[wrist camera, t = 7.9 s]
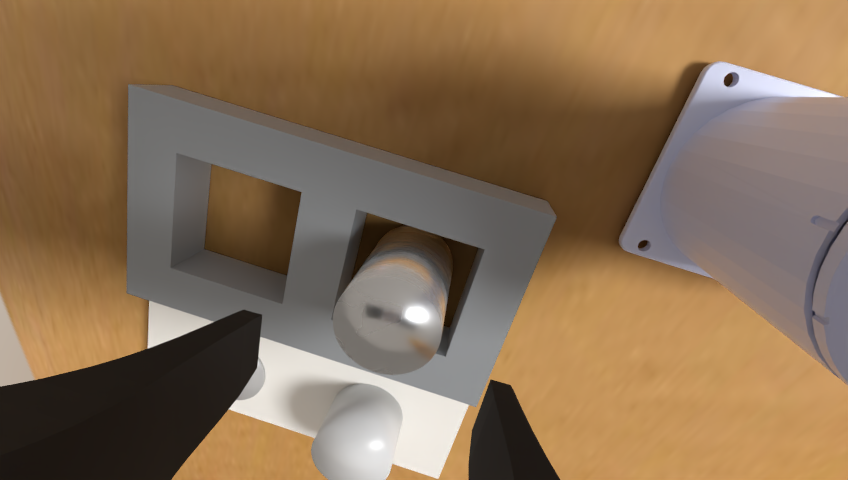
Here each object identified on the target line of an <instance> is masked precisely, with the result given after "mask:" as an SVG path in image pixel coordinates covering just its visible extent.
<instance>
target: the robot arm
mask: <svg viewBox="0 0 848 480" xmlns="http://www.w3.org/2000/svg"><path fill="white" fill-rule="evenodd" d="M729 73H730V74H732V76H733V81H732V83H731V84H730V85H729V86H725V85H724V82H723V81H724V77H725V76H726V75H727V74H729ZM643 240H647V241H648V242H647V245H646V246H645V247H643V248H638V244H639V243H640V242H641V241H643ZM619 245H620V246H621V247H622V248H623V249H624V250H625V251H627V252H629V253H632V254H636V255H639V256H642V257H645V258H649V259H652V260H655V261H658V262H661V263H665V264H668V265H671V266H674V267H678V268H681V269H684V270H687V271H690V272H694V273H697V274H700V275H703V276H706V277H710V278H713V279H715V280H717V281H718V282H719V283H720V284H722V285H723V286H724V287H725V288H727V289H728V290H729V291H730V292H732V293H733V294H734V295H735V296H737V297H738V298H739V299H740V300H742V301H743V302H744V303H745V304H747V305H748V306H749V307H750V308H752V309H753V310H754V311H755V312H757V313H758V314H759V315H760V316H762V317H763V318H764V319H765V320H767V321H768V322H769V323H770V324H772V325H773V326H774V327H775V328H777V329H778V330H779V331H780V332H782V333H783V334H784V335H785V336H787V337H788V338H789V339H790V340H792V341H793V342H794V343H795V344H797V345H798V346H799V347H800V348H802V349H803V350H804V351H805V352H807V353H808V354H809V355H810V356H812V357H813V358H814V359H815V360H817V361H818V362H819V363H821V364H822V365H823V366H824V367H826V368H827V369H828V370H829V371H831V372H832V373H833V374H834V375H836V376H837V377H838V378H840V379H841V380H842V381H843V382H844V383H845V384H847V385H848V97H842V96H839V95H835V94H832V93H828V92H825V91H822V90H818V89H815V88H811V87H808V86H805V85H801V84H798V83H794V82H791V81H788V80H784V79H781V78H777V77H774V76H771V75H767V74H764V73H761V72H757V71H754V70H750V69H747V68H744V67H740V66H737V65H733V64H730V63H727V62H714V63H711V64H708V65H707V66H706V67H704V69H703V70H702V71H701V73H700V75H699V77H698V79H697V81H696V83H695V85H694V87H693V89H692V91H691V93H690V95H689V97H688V99H687V101H686V103H685V105H684V107H683V109H682V111H681V113H680V115H679V117H678V119H677V121H676V123H675V125H674V128H673V130H672V132H671V134H670V136H669V138H668V140H667V142H666V144H665V146H664V148H663V150H662V152H661V154H660V156H659V158H658V160H657V162H656V164H655V166H654V168H653V170H652V172H651V174H650V176H649V178H648V180H647V182H646V184H645V186H644V188H643V190H642V192H641V194H640V196H639V198H638V200H637V202H636V204H635V206H634V208H633V210H632V212H631V214H630V216H629V218H628V221H627V223H626V225H625V227H624V229H623V231H622V233H621V235H620V237H619ZM261 324H262V314H258V313H255V312H251V311H247V310H241V311H238V312H236V313H233V314H231V315H229V316H226V317H224V318H222V319H219V320H217V321H215V322H213V323H210V324H208V325H206V326H203V327H201V328H199V329H196V330H194V331H191V332H189V333H187V334H184V335H182V336H180V337H177V338H174V339H172V340H169V341H167V342H164V343H161V344H159V345H156V346H153V347H151V348H148V349H145V350H143V351H140V352H137V353H134V354H131V355H128V356H125V357H122V358H119V359H116V360H112V361H109V362H105V363H102V364H99V365H95V366H92V367H88V368H84V369H80V370H76V371H72V372H68V373H63V374H59V375H55V376H51V377H47V378H43V379H38V380H33V381H28V382H23V383H18V384H13V385H7V386H2V387H0V480H171V479H172V478H173V476H174V475H175V474H176V472H177V471H178V470H179V469H180V467H181V466H182V465H183V463H184V462H185V461H186V460H187V458H188V457H189V456H190V455H191V454H192V452H193V451H194V450H195V449H196V448H197V446H198V445H199V444H200V443H201V442H202V440H203V439H204V438H205V437H206V436H207V434H208V433H209V432H210V431H211V430H212V428H213V427H214V426H215V425H216V424H217V423H218V421H219V420H220V419H221V418H222V417H223V415H224V414H225V413H226V412H227V410H228V409H229V408H230V407H231V406H232V404H233V403H234V402H235V401H236V399H237V398H238V397H239V396H240V394H241V393H242V391H243V389H244V388H245V386H246V385H247V383H248V382H249V380H250V379H251V377H252V375H253V374H254V372H255V371H256V369H257V365H258V355H259V344H260V334H261ZM469 480H560V479H559V477H558V475H557V474H556V472H555V470H554V469H553V467H552V465H551V464H550V462H549V460H548V458H547V457H546V455H545V453H544V451H543V449H542V448H541V446H540V444H539V442H538V440H537V438H536V436H535V434H534V432H533V430H532V428H531V426H530V424H529V422H528V420H527V418H526V416H525V414H524V412H523V410H522V408H521V406H520V404H519V401H518V399H517V397H516V395H515V393H514V391H513V389H512V387H511V385H508V384H504V383H501V382H497V381H494V380H490V383H489V386H488V388H487V391H486V394H485V397H484V399H483V402H482V405H481V408H480V410H479V413H478V416H477V419H476V421H475V424H474V427H473V430H472V437H471V446H470V456H469Z"/></svg>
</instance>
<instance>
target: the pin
mask: <svg viewBox="0 0 848 480" xmlns="http://www.w3.org/2000/svg"><path fill="white" fill-rule="evenodd" d="M452 271H453V259H452V255H451V252H450V249H449V247H448V246H447V244H446V243H445V241H444V240H443V239H442V238H441V237H440V236H439V235H437V234H433V233H430V232H427V231H424V230H421V229H418V228H414V227H411V226H408V225H407V226H401V227H397V228H395V229H393V230H391V231H389V232H388V233H386V234H385V235H384V236H383V237H382V238H381V240H380V241H379V242H378V244H377V245H376V247H375V248H374V249H373V251H372V252H371V254H370V255H369V257H368V258H367V259H366V261H365V262H364V264H363V265H362V267H361V268H360V269H359V271H358V272H357V274H356V275H355V277H354V278H353V279H352V281H351V282H350V284H349V285H348V287H347V288H346V290H345V291H344V292H343V294H342V295H341V297H340V298H339V300H338V302H337V303H336V306H335V309H334V312H333V330H334V334H335V337H336V339H337V341H338V343H339V345H340V347H341V348H342V349H343V351H344V352H345V353H346V354H347V355H348V357H350V358H351V359H352V360H353V361H354V362H356V363H357V364H359V365H360V366H362V367H364V368H366V369H368V370H370V371H373V372H376V373H380V374H387V375H400V374H406V373H410V372H413V371H415V370H418V369H419V368H421V367H423V366H424V365H425V364H427V363H428V362H429V361H430V360H431V359H432V358H433V356H434V355H435V353H436V352H437V350H438V348H439V345H440V342H441V336H442V330H443V324H444V318H445V312H446V306H447V301H448V295H449V289H450V283H451V277H452Z"/></svg>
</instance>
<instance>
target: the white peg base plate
mask: <svg viewBox="0 0 848 480" xmlns="http://www.w3.org/2000/svg"><path fill="white" fill-rule="evenodd" d="M210 323H213V321H210V320H207V319H204V318H201V317H198V316H195V315H192V314H189V313H186V312H183V311H180V310H177V309H174V308H170V307H167V306H164V305H161V304H158V303H155V302H152V301H149V324H148V348H151V347H153V346H156V345H159V344H161V343H164V342H167V341H169V340H172V339H174V338H177V337H180V336H182V335H184V334H187V333H189V332H191V331H194V330H196V329H199V328H201V327H203V326H206V325H208V324H210ZM468 406H469V405H468V404H465V403H462V402H459V401H456V400H453V399H450V398H447V397H444V396H441V395H437V394H434V393H431V392H428V391H425V390H422V389H419V388H416V387H413V386H410V385H407V384H404V383H401V382H398V381H394V380H391V379H388V378H385V377H382V376H379V375H376V374H373V373H370V372H367V371H364V370H361V369H358V368H355V367H352V366H348V365H345V364H342V363H339V362H336V361H333V360H330V359H327V358H324V357H321V356H318V355H315V354H312V353H309V352H305V351H302V350H299V349H296V348H293V347H290V346H287V345H284V344H281V343H278V342H275V341H272V340H269V339H266V338H263V337H260V344H259V355H258V365H257V369H256V371H255V372H254V374H253V375H252V377H251V379H250V380H249V382H248V383H247V385H246V386H245V388H244V389H243V391H242V393H241V394H240V396H239V397H238V398H237V399H236V401H235V402H234V403H233V404H232V406H231V407H230V408H229V410H232V411H235V412H238V413H241V414H244V415H247V416H250V417H253V418H256V419H259V420H262V421H265V422H268V423H271V424H274V425H277V426H280V427H283V428H286V429H289V430H292V431H296V432H299V433H302V434H305V435H308V436H311V437H314V438H315V439H314V441H313V444H312V448H311V454H312V459H313V462H314V464H315V466H316V467H317V469H318V470H319V471H320V472H321V473H322V474H323V475H324V476H325V477H326V478H327V479H329V480H385V479H386V478H387V477H388V475H389V473H390V470H391V466H392V464H395V465H398V466H401V467H404V468H407V469H410V470H413V471H416V472H419V473H422V474H425V475H428V476H431V477H434V478H437V479H438V478H439V476H440V473H441V471H442V468H443V466H444V464H445V461H446V459H447V456H448V454H449V452H450V449H451V447H452V444H453V442H454V440H455V437H456V435H457V432H458V430H459V427H460V425H461V423H462V420H463V418H464V415H465V413H466V411H467V408H468Z"/></svg>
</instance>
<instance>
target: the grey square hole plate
mask: <svg viewBox="0 0 848 480" xmlns="http://www.w3.org/2000/svg"><path fill="white" fill-rule="evenodd" d="M211 164H214V165H217V166H220V167H223V168H226V169H230V170H233V171H236V172H239V173H242V174H245V175H249V176H252V177H255V178H258V179H261V180H265V181H268V182H271V183H274V184H277V185H281V186H284V187H287V188H290V189H293V190H296V191H300V192H302V194H301V199H300V205H299V211H298V217H297V223H296V228H295V234H294V240H293V246H292V251H291V257H290V263H289V269H288V275H284V274H280V273H277V272H274V271H271V270H268V269H265V268H262V267H259V266H255V265H252V264H249V263H246V262H243V261H240V260H237V259H234V258H230V257H227V256H224V255H221V254H218V253H215V252H212V251H209V250H206V249H204V246H205V234H206V223H207V211H208V199H209V187H210V176H211ZM367 213H370V214H373V215H376V216H379V217H382V218H386V219H389V220H392V221H395V222H398V223H402V224H405V225H408V226H411V227H414V228H418V229H421V230H424V231H427V232H430V233H433V234H437V235H440V236H443V237H446V238H449V239H453V240H456V241H459V242H462V243H465V244H469V245H472V246H475V247H478V250H477V253H476V256H475V259H474V262H473V264H472V267H471V270H470V273H469V276H468V278H467V281H466V284H465V287H464V289H463V292H462V295H461V298H460V301H459V303H458V306H457V309H456V312H455V315H454V317H453V320H452V323H451V326H450V328H449V327H446V326H443V330H442V336H441V342H440V345H439V348H438V350H437V352H436V353H435V355H434V356H433V358H432V359H431V360H430V361H429V362H428V363H427V364H425V365H424V366H423V367H421V368H419V369H418V370H415V371H413V372H410V373H406V374H400V375H387V374H380V373H376V372H373V371H370V370H368V369H366V368H364V367H362V366H360V365H359V364H357V363H356V362H354V361H353V360H352V359H351V358H350V357H348V355H347V354H346V353H345V352H344V351H343V349H342V348H341V347H340V345H339V343H338V341H337V339H336V337H335V334H334V330H333V312H334V309H335V306H336V303H337V302H338V300H339V298H340V297H341V295H342V294H343V292H344V291H345V290H346V288H347V287H348V285H349V284H350V282H351V279H352V274H353V270H354V266H355V262H356V258H357V253H358V249H359V245H360V241H361V237H362V233H363V228H364V224H365V220H366V216H367ZM556 218H557V216H556V214H555V213H554V211H553V209H552V208H551V206H550V205H549V203H548V201H545V200H542V199H539V198H536V197H532V196H529V195H526V194H523V193H520V192H516V191H513V190H510V189H507V188H503V187H500V186H497V185H494V184H490V183H487V182H484V181H481V180H477V179H474V178H471V177H468V176H464V175H461V174H458V173H455V172H452V171H448V170H445V169H442V168H439V167H435V166H432V165H429V164H426V163H422V162H419V161H416V160H413V159H409V158H406V157H403V156H400V155H396V154H393V153H390V152H387V151H384V150H380V149H377V148H374V147H371V146H367V145H364V144H361V143H358V142H354V141H351V140H348V139H345V138H341V137H338V136H335V135H332V134H328V133H325V132H322V131H319V130H316V129H312V128H309V127H306V126H303V125H299V124H296V123H293V122H290V121H286V120H283V119H280V118H277V117H273V116H270V115H267V114H264V113H260V112H257V111H254V110H251V109H248V108H244V107H241V106H238V105H235V104H231V103H228V102H225V101H222V100H218V99H215V98H212V97H209V96H205V95H202V94H199V93H196V92H192V91H189V90H186V89H183V88H179V87H176V86H173V85H144V84H128V188H127V294H131V295H134V296H137V297H140V298H143V299H146V300H149V301H152V302H155V303H158V304H161V305H164V306H167V307H170V308H174V309H177V310H180V311H183V312H186V313H189V314H192V315H195V316H198V317H201V318H204V319H207V320H210V321H213V322H215V321H217V320H219V319H222V318H224V317H226V316H229V315H231V314H233V313H236V312H238V311H241V310H247V311H251V312H255V313H258V314H262V324H261V334H260V337H263V338H266V339H269V340H272V341H275V342H278V343H281V344H284V345H287V346H290V347H293V348H296V349H299V350H302V351H305V352H309V353H312V354H315V355H318V356H321V357H324V358H327V359H330V360H333V361H336V362H339V363H342V364H345V365H348V366H352V367H355V368H358V369H361V370H364V371H367V372H370V373H373V374H376V375H379V376H382V377H385V378H388V379H391V380H394V381H398V382H401V383H404V384H407V385H410V386H413V387H416V388H419V389H422V390H425V391H428V392H431V393H434V394H437V395H441V396H444V397H447V398H450V399H453V400H456V401H459V402H462V403H465V404H468V405H471V406H474V407H476V406H477V404H478V402H479V399H480V397H481V395H482V392H483V390H484V388H485V385H486V383H487V381H488V378H489V376H490V373H491V371H492V369H493V366H494V364H495V362H496V359H497V357H498V355H499V352H500V350H501V348H502V345H503V343H504V340H505V338H506V336H507V333H508V331H509V329H510V326H511V324H512V322H513V319H514V317H515V315H516V312H517V310H518V307H519V305H520V303H521V300H522V298H523V296H524V293H525V291H526V289H527V286H528V284H529V282H530V279H531V277H532V274H533V272H534V270H535V267H536V265H537V263H538V260H539V258H540V256H541V253H542V251H543V249H544V246H545V244H546V241H547V239H548V237H549V234H550V232H551V230H552V227H553V225H554V223H555V220H556Z"/></svg>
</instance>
